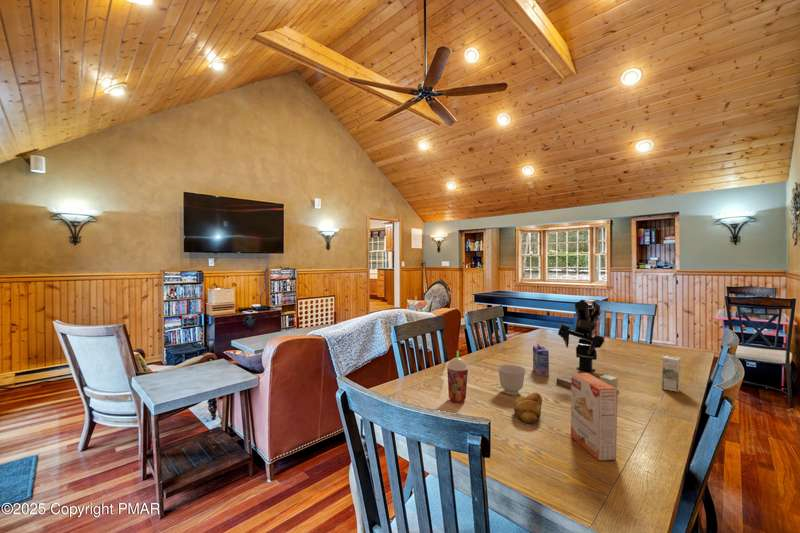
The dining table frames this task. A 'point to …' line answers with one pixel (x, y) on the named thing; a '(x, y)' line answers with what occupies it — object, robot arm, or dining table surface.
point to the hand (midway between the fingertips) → (577, 350)
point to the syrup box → (671, 373)
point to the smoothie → (457, 379)
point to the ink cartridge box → (541, 360)
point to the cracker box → (594, 415)
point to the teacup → (511, 378)
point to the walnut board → (565, 381)
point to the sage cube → (609, 380)
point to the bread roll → (528, 407)
